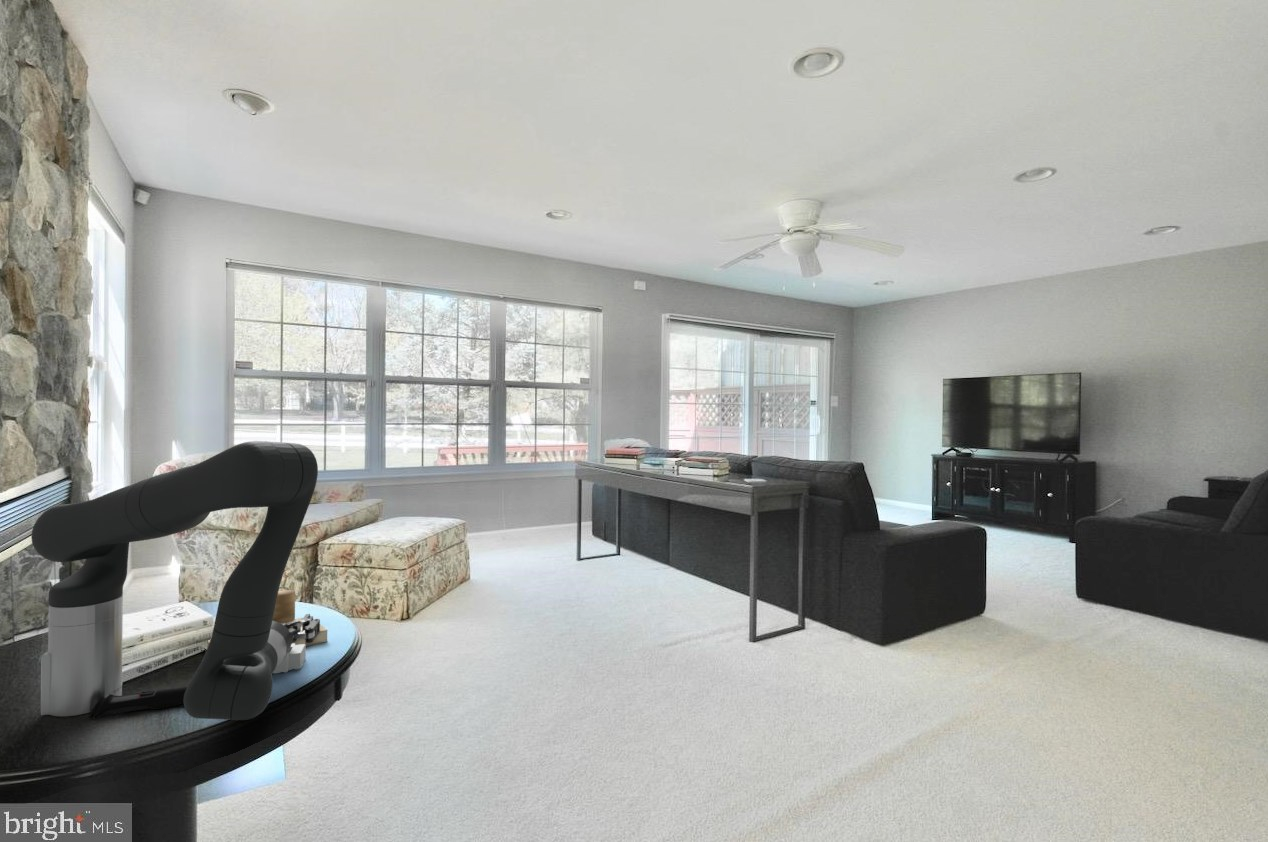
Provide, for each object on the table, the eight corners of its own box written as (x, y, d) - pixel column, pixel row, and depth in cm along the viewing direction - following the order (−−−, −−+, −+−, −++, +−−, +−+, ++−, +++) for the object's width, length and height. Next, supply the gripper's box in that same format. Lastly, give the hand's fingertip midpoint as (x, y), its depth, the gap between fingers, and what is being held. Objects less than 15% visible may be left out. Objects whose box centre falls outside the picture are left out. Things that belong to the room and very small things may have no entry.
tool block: (256, 675, 116) (257, 658, 116) (266, 661, 122) (266, 645, 122) (299, 670, 118) (299, 654, 118) (306, 657, 124) (306, 642, 124)
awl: (268, 671, 118) (268, 596, 118) (273, 663, 121) (274, 590, 121) (292, 668, 119) (292, 594, 119) (296, 661, 123) (297, 589, 123)
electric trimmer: (204, 707, 104) (205, 688, 104) (86, 722, 98) (87, 701, 98) (210, 698, 107) (210, 679, 107) (97, 711, 101) (97, 692, 101)
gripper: (308, 624, 107) (324, 598, 122) (211, 632, 103) (241, 604, 118) (308, 668, 107) (324, 637, 122) (211, 678, 103) (240, 644, 118)
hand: (283, 621), depth 120 cm, fingers open, 8 cm apart
